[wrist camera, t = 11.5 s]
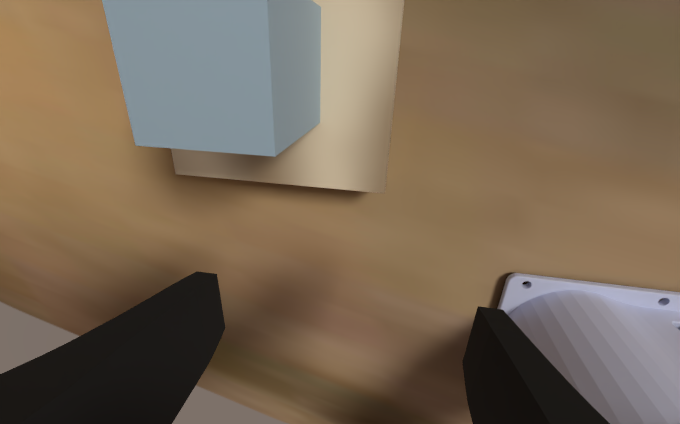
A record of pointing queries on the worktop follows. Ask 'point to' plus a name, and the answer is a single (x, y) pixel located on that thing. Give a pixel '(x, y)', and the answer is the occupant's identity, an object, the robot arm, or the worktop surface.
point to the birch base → (333, 109)
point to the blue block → (218, 72)
